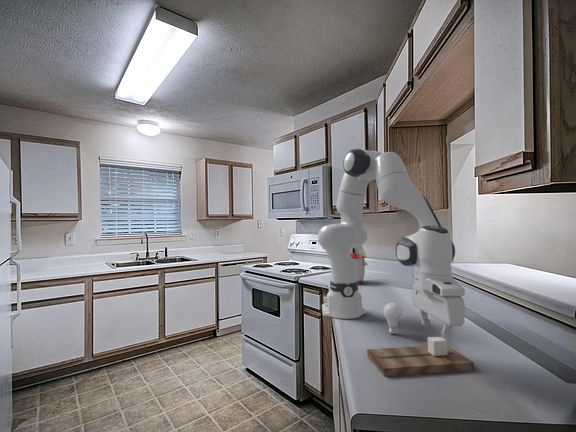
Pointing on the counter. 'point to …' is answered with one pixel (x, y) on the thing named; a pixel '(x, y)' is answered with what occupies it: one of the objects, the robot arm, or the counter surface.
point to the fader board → (417, 361)
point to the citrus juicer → (359, 267)
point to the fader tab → (437, 346)
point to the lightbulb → (392, 316)
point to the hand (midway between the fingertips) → (434, 331)
